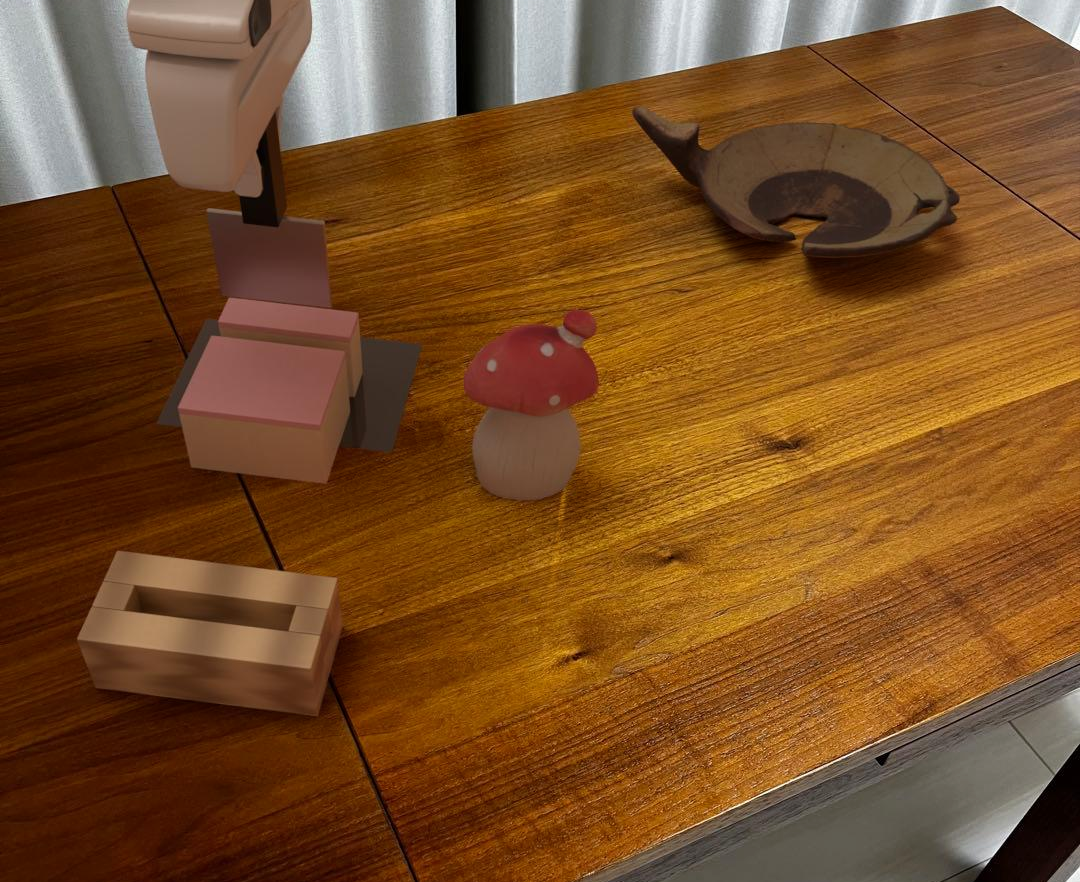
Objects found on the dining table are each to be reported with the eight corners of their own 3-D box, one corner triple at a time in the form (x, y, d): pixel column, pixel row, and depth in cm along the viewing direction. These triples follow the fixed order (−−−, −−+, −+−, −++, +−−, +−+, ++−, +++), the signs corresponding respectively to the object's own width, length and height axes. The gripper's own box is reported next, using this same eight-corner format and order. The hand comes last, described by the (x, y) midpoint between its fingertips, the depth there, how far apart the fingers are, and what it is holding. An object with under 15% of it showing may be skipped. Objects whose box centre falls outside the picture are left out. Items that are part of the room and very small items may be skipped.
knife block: (98, 696, 75) (75, 639, 70) (135, 609, 79) (117, 550, 75) (319, 724, 74) (310, 669, 70) (343, 635, 79) (337, 577, 74)
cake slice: (228, 382, 93) (217, 321, 89) (239, 358, 95) (229, 297, 91) (354, 397, 93) (350, 337, 88) (362, 372, 95) (358, 312, 90)
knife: (216, 304, 85) (181, 107, 73) (226, 284, 86) (193, 88, 75) (328, 317, 84) (309, 121, 73) (335, 296, 86) (318, 101, 75)
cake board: (134, 479, 87) (132, 471, 86) (207, 325, 99) (206, 318, 98) (378, 509, 86) (378, 501, 86) (422, 351, 98) (422, 343, 98)
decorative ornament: (587, 453, 91) (607, 294, 80) (585, 516, 87) (606, 357, 76) (466, 444, 91) (469, 283, 80) (458, 506, 87) (460, 346, 76)
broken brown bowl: (869, 332, 103) (894, 258, 98) (595, 196, 115) (603, 123, 109) (980, 225, 116) (1008, 154, 110) (722, 112, 127) (735, 42, 121)
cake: (191, 468, 87) (177, 407, 82) (222, 396, 92) (211, 335, 88) (326, 485, 87) (320, 424, 82) (350, 411, 92) (345, 350, 87)
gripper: (226, -118, 74) (253, 91, 85) (112, 33, 61) (161, 259, 71) (326, -107, 74) (341, 101, 85) (234, 46, 61) (265, 271, 71)
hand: (258, 175), depth 78 cm, fingers closed on knife, 2 cm apart
